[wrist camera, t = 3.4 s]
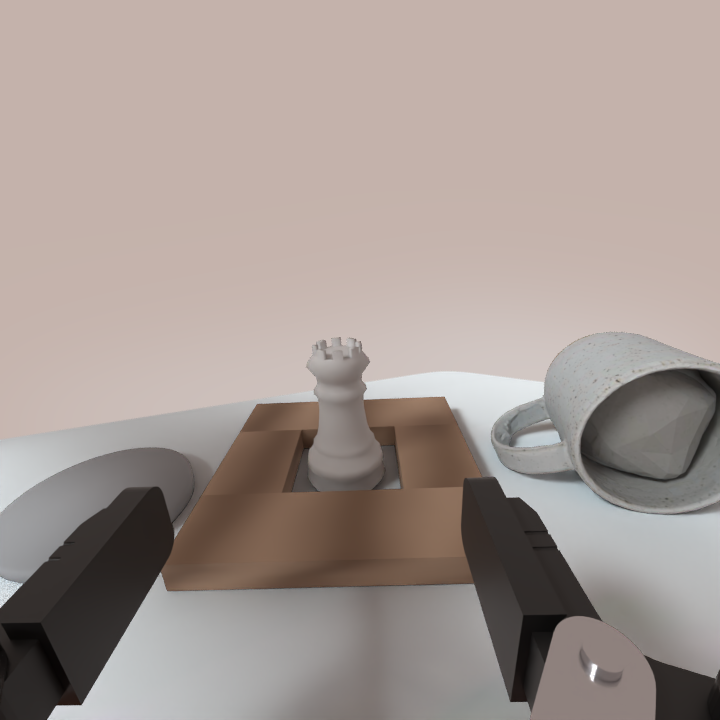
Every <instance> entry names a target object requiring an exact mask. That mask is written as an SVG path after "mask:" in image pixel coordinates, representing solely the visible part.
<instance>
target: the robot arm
mask: <svg viewBox="0 0 720 720" xmlns="http://www.w3.org/2000/svg"><path fill="white" fill-rule="evenodd" d="M461 535H462V542H463V547H464V551H465V555H466V558H467V561H468V564H469V568H470V571H471V574H472V578H473V581H474V584H475V587H476V591H477V594H478V597H479V601H480V604H481V607H482V610H483V614H484V617H485V620H486V624H487V627H488V630H489V633H490V637H491V640H492V643H493V647H494V650H495V653H496V656H497V660H498V663H499V666H500V669H501V673H502V676H503V679H504V683H505V686H506V689H507V692H508V696H509V699H510V702H528V704H529V707H530V710H531V716H530V720H720V670H719V672H718V674H717V677H716V679H715V678H711V677H708V676H705V675H701V674H698V673H695V672H691V671H688V670H685V669H681V668H678V667H675V666H671V665H668V664H665V663H662V662H659V661H656V660H653V659H651V658H649V657H647V656H645V655H643V654H642V653H641V652H640V650H639V649H638V648H637V647H636V646H635V645H634V644H633V643H632V641H631V640H629V639H628V638H627V637H626V636H625V635H624V634H622V633H621V632H619V631H618V630H617V629H615V628H614V627H612V626H610V625H608V624H606V623H604V622H603V621H602V620H601V618H600V617H599V615H598V614H597V612H596V611H595V609H594V607H593V606H592V604H591V602H590V601H589V599H588V597H587V596H586V594H585V592H584V591H583V589H582V587H581V586H580V584H579V582H578V581H577V579H576V577H575V576H574V574H573V572H572V571H571V569H570V567H569V566H568V564H567V562H566V561H565V559H564V557H563V555H562V554H561V552H560V550H558V549H557V545H556V544H555V542H554V540H553V539H552V537H551V535H550V534H548V530H547V529H546V527H545V525H544V524H543V522H542V520H541V519H540V517H539V515H538V514H537V512H536V511H534V510H533V509H532V508H531V507H530V506H529V505H527V504H526V503H525V502H524V501H523V500H522V499H520V498H519V497H518V498H506V496H505V494H504V492H503V490H502V488H501V486H500V484H499V482H498V481H497V479H496V478H495V477H478V478H465V479H464V483H463V497H462V514H461ZM173 544H174V530H173V526H172V523H171V519H170V516H169V512H168V509H167V505H166V502H165V498H164V494H163V492H162V490H161V489H160V488H159V487H157V486H154V487H128V488H126V489H124V490H123V491H122V492H121V493H120V494H119V495H118V496H117V497H116V498H115V499H114V500H113V501H112V503H111V504H110V505H109V506H108V507H107V508H103V509H102V510H100V511H99V512H97V513H96V514H95V515H93V516H92V517H90V518H89V519H87V520H86V521H84V522H83V523H82V524H80V525H79V526H78V527H77V529H76V530H75V531H74V532H73V533H72V534H71V535H70V536H69V537H68V538H67V539H66V540H65V541H64V544H63V546H59V547H58V548H57V549H56V550H55V552H54V553H53V554H52V555H51V556H50V557H49V560H48V561H47V562H44V563H43V564H42V565H41V566H40V567H39V568H38V569H37V570H36V571H35V572H34V574H33V575H32V576H31V577H30V578H29V579H28V580H27V581H26V582H25V583H24V584H23V585H22V586H21V587H20V588H19V589H18V590H17V591H16V592H15V593H14V594H13V595H12V597H11V598H10V599H9V600H8V601H7V602H6V603H5V604H4V605H3V606H2V607H1V608H0V720H47V719H48V717H49V716H50V714H51V713H52V711H53V709H54V708H55V706H56V705H82V703H83V702H84V700H85V698H86V697H87V695H88V693H89V691H90V690H91V688H92V686H93V685H94V683H95V681H96V680H97V678H98V676H99V675H100V673H101V671H102V670H103V668H104V666H105V664H106V663H107V661H108V659H109V658H110V656H111V654H112V653H113V651H114V649H115V648H116V646H117V644H118V643H119V641H120V639H121V637H122V636H123V634H124V632H125V631H126V629H127V627H128V626H129V624H130V622H131V621H132V619H133V617H134V616H135V614H136V612H137V611H138V609H139V607H140V605H141V604H142V602H143V600H144V599H145V597H146V595H147V594H148V592H149V590H150V589H151V587H152V585H153V584H154V582H155V580H156V578H157V577H158V575H159V573H160V572H161V570H162V568H163V567H164V565H165V563H166V562H167V560H168V558H169V556H170V554H171V552H172V548H173Z"/></svg>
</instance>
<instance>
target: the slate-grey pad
mask: <svg viewBox="0 0 720 720" xmlns="http://www.w3.org/2000/svg"><path fill="white" fill-rule="evenodd" d="M154 486H157V487H159V488H160V489H161V490H162V492H163V494H164V498H165V502H166V505H167V509H168V512H169V516H170V519H171V523H172V522H173V521H174V520H175V519H176V518H177V517H178V515H179V514H180V513H181V512H182V511H183V509H184V508H185V506H186V505H187V503H188V502H189V500H190V498H191V496H192V493H193V490H194V476H193V472H192V468H191V465H190V462H189V461H188V459H187V458H186V457H185V456H183V455H182V454H180V453H178V452H176V451H173V450H170V449H165V448H136V449H129V450H123V451H118V452H114V453H110V454H106V455H103V456H99V457H96V458H93V459H90V460H87V461H84V462H82V463H79V464H77V465H74V466H72V467H70V468H68V469H65V470H63V471H61V472H59V473H57V474H55V475H53V476H51V477H49V478H48V479H46V480H44V481H42V482H41V483H39V484H37V485H36V486H34V487H33V488H31V489H29V490H28V491H27V492H25V493H24V494H22V495H21V496H20V497H18V498H17V499H16V500H15V501H13V502H12V503H11V504H10V505H9V506H8V507H7V508H6V509H5V510H4V511H3V512H2V513H1V514H0V576H1V577H2V578H4V579H7V580H9V581H13V582H18V583H25V582H26V581H27V580H28V579H29V578H30V577H31V576H32V575H33V574H34V572H35V571H36V570H37V569H38V568H39V567H40V566H41V565H42V564H43V563H44V562H47V561H48V560H49V557H50V556H51V555H52V554H53V553H54V552H55V550H56V549H57V548H58V547H59V546H63V544H64V541H65V540H66V539H67V538H68V537H69V536H70V535H71V534H72V533H73V532H74V531H75V530H76V529H77V527H78V526H79V525H80V524H82V523H83V522H84V521H86V520H87V519H89V518H90V517H92V516H93V515H95V514H96V513H97V512H99V511H100V510H102V509H103V508H107V507H108V506H109V505H110V504H111V503H112V501H113V500H114V499H115V498H116V497H117V496H118V495H119V494H120V493H121V492H122V491H123V490H124V489H126V488H128V487H154Z"/></svg>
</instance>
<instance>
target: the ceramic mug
mask: <svg viewBox="0 0 720 720" xmlns="http://www.w3.org/2000/svg"><path fill="white" fill-rule="evenodd" d="M546 419H551V421H552V422H553V425H554V426H555V427H556V429H557V431H558V433H559V436H560V439H561V442H560V443H557V444H554V445H546V446H537V447H528V448H520V447H510V446H509V442H510V441H511V436H512V435H513V434H515V433H516V432H517V431H519V430H522V429H523V428H525V427H527V426H530V425H532V424H535V423H538V422H541V421H544V420H546ZM491 442H492V444H493V446H494V449H495V451H496V453H497V455H498V457H499V460H500V461H501V463H503V464H504V465H505V466H506V467H508V468H509V469H511V470H514V471H517V472H520V473H526V474H547V473H557V472H564V471H569V470H575V471H577V473H578V474H579V476H580V477H581V479H582V480H583V481H584V482H585V483H586V485H587V486H588V487H590V488H591V489H592V490H593V491H594V492H595V493H596V494H598V495H599V496H601V497H602V498H604V499H605V500H607V501H609V502H611V503H613V504H615V505H618V506H621V507H624V508H627V509H630V510H634V511H639V512H644V513H657V514H676V513H683V512H689V511H693V510H698V509H701V508H703V507H706V506H709V505H712V504H714V503H717V502H719V501H720V364H719V363H716V362H713V361H710V360H706V359H704V358H701V357H698V356H695V355H692V354H689V353H687V352H684V351H682V350H679V349H676V348H673V347H671V346H668V345H666V344H663V343H661V342H658V341H656V340H654V339H651V338H648V337H644V336H642V335H638V334H632V333H623V332H606V333H597V334H593V335H589V336H586V337H583V338H581V339H579V340H577V341H575V342H573V343H571V344H570V345H569V346H567V347H566V348H565V349H563V350H562V351H561V352H560V353H559V354H558V355H557V356H556V357H555V359H554V360H553V361H552V363H551V365H550V367H549V369H548V371H547V374H546V378H545V385H544V395H543V397H542V398H540V399H537V400H534V401H531V402H528V403H526V404H523V405H520V406H518V407H516V408H514V409H512V410H510V411H508V412H506V413H505V414H504V415H503V416H501V417H500V418H499V419H498V420H497V421H496V422H495V424H494V426H493V428H492V431H491Z"/></svg>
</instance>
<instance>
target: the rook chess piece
mask: <svg viewBox="0 0 720 720" xmlns="http://www.w3.org/2000/svg"><path fill="white" fill-rule="evenodd" d="M312 351H313V355H312V356H311V358H310V359H309V361H308V362H307V368H308V369H309V370H310V371H311V372H312V374H313V375H314V376H315V377H316V378H317V386H316V387H315V389H314V394H315V395H316V396H317V397H318V401H319V427H318V432H317V435H316V436H315V438H314V443H313V445H312V447H311V448H310V449H309V454H308V466H309V468H308V479H309V480H310V482H311V484H312V485H313V487H315V488H316V489H317V490H319V491H320V492H321V491H352V490H372V489H373V488H374V487H375V486H376V485H377V484H378V483H379V482H380V481H381V480H382V477H383V475H384V472H385V467H384V463H383V460H382V459H383V457H384V456H383V453H382V449H381V446H380V443H379V442H378V441H377V440H376V439H375V437H374V433H373V432H372V431H371V430H370V429H369V426H368V424H367V419H366V414H365V409H364V399H363V394H364V392H365V391H366V389H367V388H366V385H365V384H364V383H363V382H362V379H361V378H362V373H363V371H364V370H365V368H366V367H367V366H368V364H369V363H370V361H369V358H368V357H367V356H366V355H365V354H364V352H363V351H362V345H361V341H360V342H356V339H353V338H348V339H347V346H341V338H340V337H339V338H332V346H331V347H327V346H326V341H325V340H321V341H318V342H316V345H312Z"/></svg>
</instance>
